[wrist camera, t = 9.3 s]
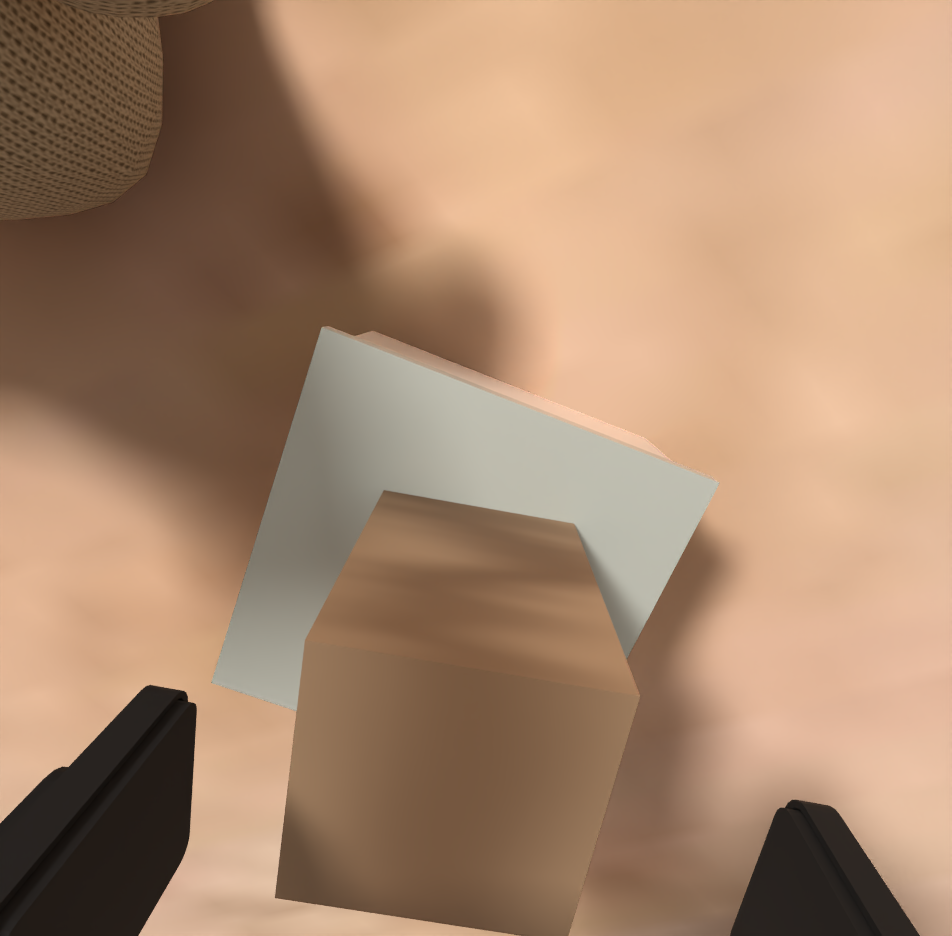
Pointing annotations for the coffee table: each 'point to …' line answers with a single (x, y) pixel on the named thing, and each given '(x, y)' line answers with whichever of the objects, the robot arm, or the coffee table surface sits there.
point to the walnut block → (456, 723)
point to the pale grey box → (443, 491)
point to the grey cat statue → (78, 101)
